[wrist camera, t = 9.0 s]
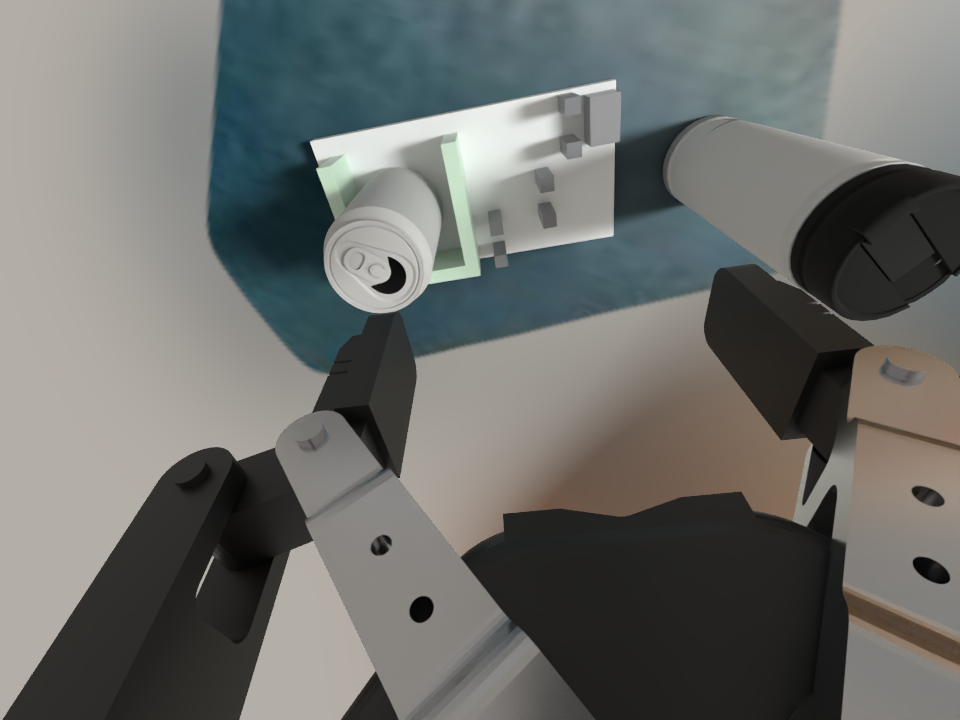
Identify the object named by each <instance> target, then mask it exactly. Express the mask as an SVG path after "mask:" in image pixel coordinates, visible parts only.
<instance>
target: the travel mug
mask: <svg viewBox="0 0 960 720" xmlns="http://www.w3.org/2000/svg"><path fill="white" fill-rule="evenodd" d="M663 180H664V184H665V186H666V188H667V190H668V191H669V193H670V194H671V195H672V196H673V197H675V198H676V199H677V200H679V201H680V202H681V203H683V204H684V205H686V206H687V207H688V208H690V209H691V210H693V211H694V212H695V213H697V214H698V215H699V216H701V217H702V218H704V219H705V220H706V221H708V222H709V223H711V224H712V225H713V226H715V227H716V228H718V229H719V230H720V231H722V232H723V233H724V234H726V235H727V236H729V237H730V238H731V239H733V240H734V241H736V242H737V243H738V244H740V245H741V246H742V247H744V248H745V249H747V250H748V251H749V252H751V253H752V254H754V255H755V256H756V257H758V258H759V259H761V260H762V261H763V262H765V263H766V264H767V265H769V266H770V267H772V268H773V269H774V270H776V271H777V272H779V273H780V274H781V275H783V276H784V277H785V278H787V279H788V280H790V281H791V282H792V283H794V284H795V285H797V286H798V287H799V288H801V289H802V290H804V291H805V292H808V293H810V294H811V295H813V296H814V297H816V298H817V299H818V300H820V301H821V302H822V303H824V304H825V305H827V306H828V307H830V308H831V309H833V310H834V311H835V312H837V313H838V314H839V315H841V316H842V317H844V318H847V319H850V320H858V321H867V320H876V319H880V318H884V317H888V316H891V315H893V314H895V313H898V312H900V311H902V310H904V309H907V308H909V307H910V306H909V305H908V304H909V303H912V302H915V301H917V300H918V299H920V298H922V297H923V296H925V295H927V294H928V293H930V292H932V291H933V290H934V289H935V288H937V287H938V286H940V285H941V284H942V283H944V282H945V281H946V280H947V279H948V278H949V277H950V275H951V274H952V275H954V276H958V275H959V274H960V176H957V175H953V174H949V173H945V172H941V171H936V170H932V169H930V168H926V167H924V166H922V165H920V164H916V163H912V162H907V161H904V160H900V159H896V158H892V157H888V156H884V155H880V154H876V153H872V152H868V151H864V150H860V149H856V148H852V147H848V146H844V145H840V144H836V143H832V142H828V141H824V140H820V139H816V138H812V137H808V136H804V135H800V134H796V133H792V132H788V131H784V130H780V129H776V128H772V127H768V126H764V125H760V124H756V123H752V122H748V121H744V120H740V119H736V118H732V117H728V116H722V115H711V116H708V117H704V118H701V119H699V120H697V121H695V122H693V123H692V124H690V125H689V126H687V127H686V128H685V129H684V130H683V131H682V132H681V133H680V134H679V135H678V136H677V137H676V138H675V140H674V141H673V142H672V144H671V146H670V148H669V149H668V151H667V154H666V157H665V159H664V165H663Z"/></svg>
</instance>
